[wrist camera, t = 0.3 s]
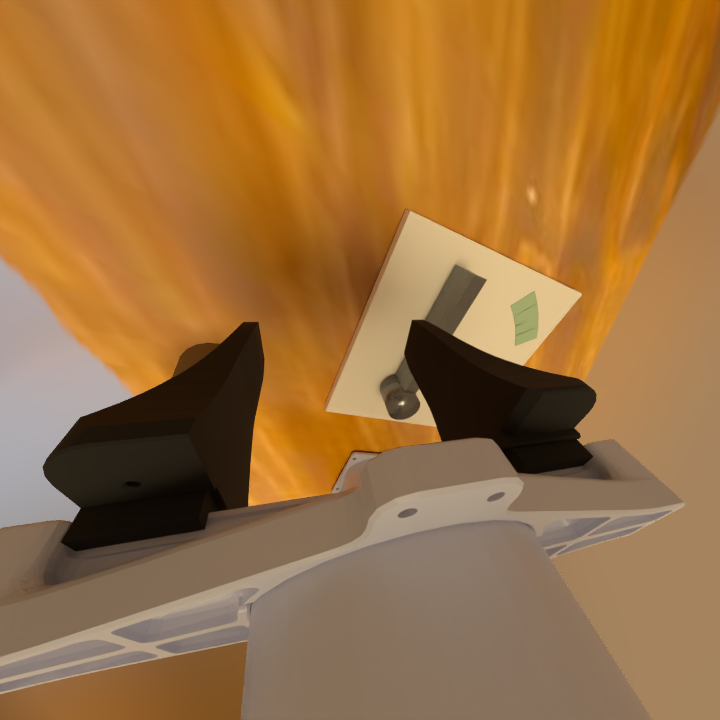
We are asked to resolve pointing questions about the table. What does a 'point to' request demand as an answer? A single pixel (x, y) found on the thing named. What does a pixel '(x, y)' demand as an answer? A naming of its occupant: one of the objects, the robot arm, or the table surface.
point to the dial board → (417, 297)
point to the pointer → (445, 316)
